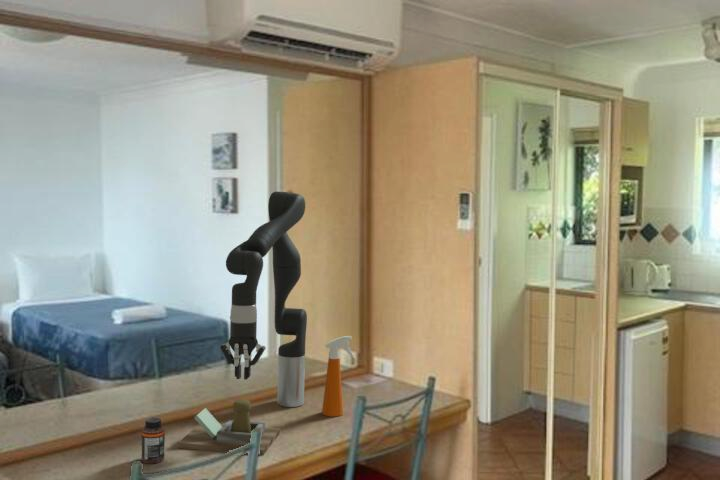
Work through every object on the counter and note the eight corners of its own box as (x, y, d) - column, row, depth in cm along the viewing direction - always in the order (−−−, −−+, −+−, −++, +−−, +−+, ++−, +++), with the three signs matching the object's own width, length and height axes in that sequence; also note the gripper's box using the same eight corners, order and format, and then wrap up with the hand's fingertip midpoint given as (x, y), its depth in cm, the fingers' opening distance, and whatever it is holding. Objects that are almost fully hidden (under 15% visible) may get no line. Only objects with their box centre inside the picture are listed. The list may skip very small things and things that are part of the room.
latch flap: (202, 410, 211) (205, 407, 211) (221, 431, 211) (224, 429, 210) (194, 417, 204) (196, 415, 204) (213, 439, 204) (216, 437, 204)
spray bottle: (354, 417, 233) (357, 338, 231) (322, 416, 232) (324, 337, 230) (353, 410, 240) (355, 333, 238) (321, 410, 239) (323, 333, 237)
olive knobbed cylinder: (247, 441, 203) (248, 404, 202) (227, 439, 204) (228, 402, 203) (254, 434, 209) (255, 398, 208) (235, 432, 210) (236, 396, 209)
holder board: (201, 427, 218) (201, 412, 218) (279, 433, 215) (280, 418, 215) (178, 447, 201) (178, 432, 200) (263, 455, 197) (263, 439, 197)
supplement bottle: (144, 455, 194) (144, 415, 193) (166, 455, 194) (166, 415, 194) (139, 464, 188) (139, 422, 187) (162, 464, 188) (162, 422, 188)
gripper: (270, 318, 207) (268, 377, 208) (225, 316, 208) (224, 373, 210) (263, 323, 199) (261, 383, 200) (216, 320, 201) (215, 380, 202)
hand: (242, 378), depth 205 cm, fingers closed
